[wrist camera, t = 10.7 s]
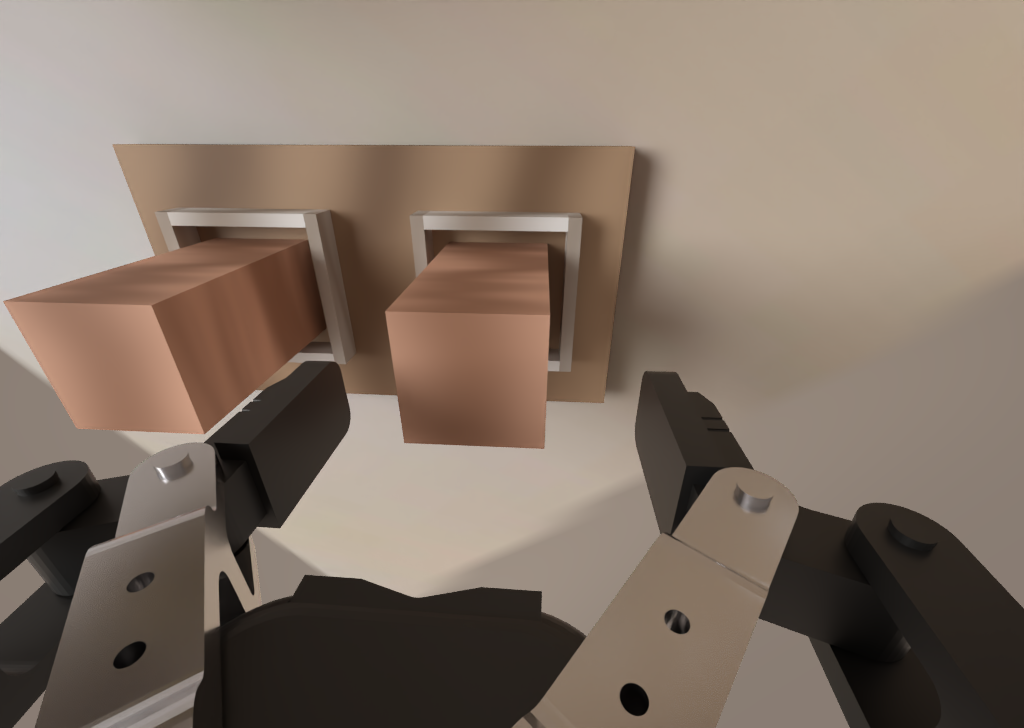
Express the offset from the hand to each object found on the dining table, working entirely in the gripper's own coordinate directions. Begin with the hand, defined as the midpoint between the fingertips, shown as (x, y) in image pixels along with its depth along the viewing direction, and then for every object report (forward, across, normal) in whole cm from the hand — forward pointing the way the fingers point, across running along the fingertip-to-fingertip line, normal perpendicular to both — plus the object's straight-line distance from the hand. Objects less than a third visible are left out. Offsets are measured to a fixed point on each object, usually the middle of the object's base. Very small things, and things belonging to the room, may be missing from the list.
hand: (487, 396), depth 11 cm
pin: (+8, +1, 0) cm, 8 cm away
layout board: (+9, +6, 0) cm, 11 cm away
